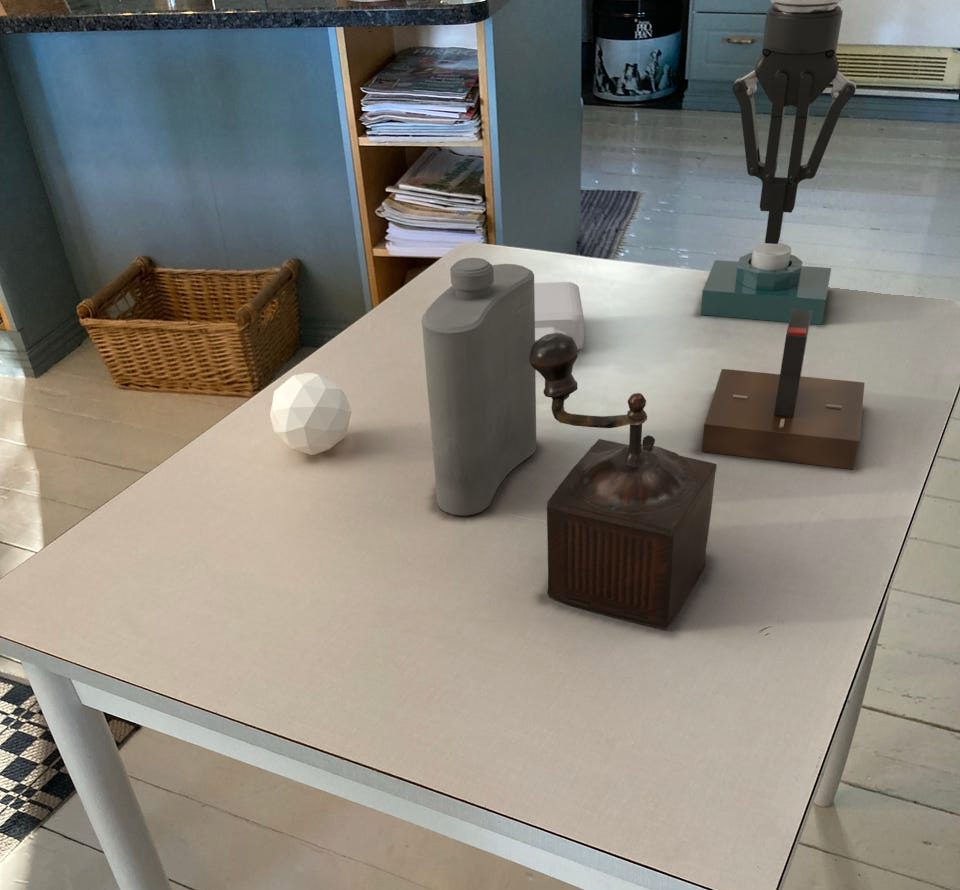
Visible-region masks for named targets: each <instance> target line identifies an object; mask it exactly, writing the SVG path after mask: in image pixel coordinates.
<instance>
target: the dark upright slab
mask: <svg viewBox="0 0 960 890" xmlns="http://www.w3.org/2000/svg"><path fill="white" fill-rule="evenodd" d="M811 313H812V310H801V309H792V312H791V316H790V320H789V322H788V325H787V330H786V332H785V333H786V334H785V340H784V345H783V346H784V347H783V352H782V359H781V365H780V372H779V374H780V378H779V385H778V391H777V398H776V404H775V411H774V415H776V416H785V417H793V416H794V411H795V406H796V401H797V395H798V390H799V384H800V378H801V376H802V371H803V367H804V360H805V355H806V348H807V343H808V336H809V330H810V325H811V324H810V319H811Z"/></svg>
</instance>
